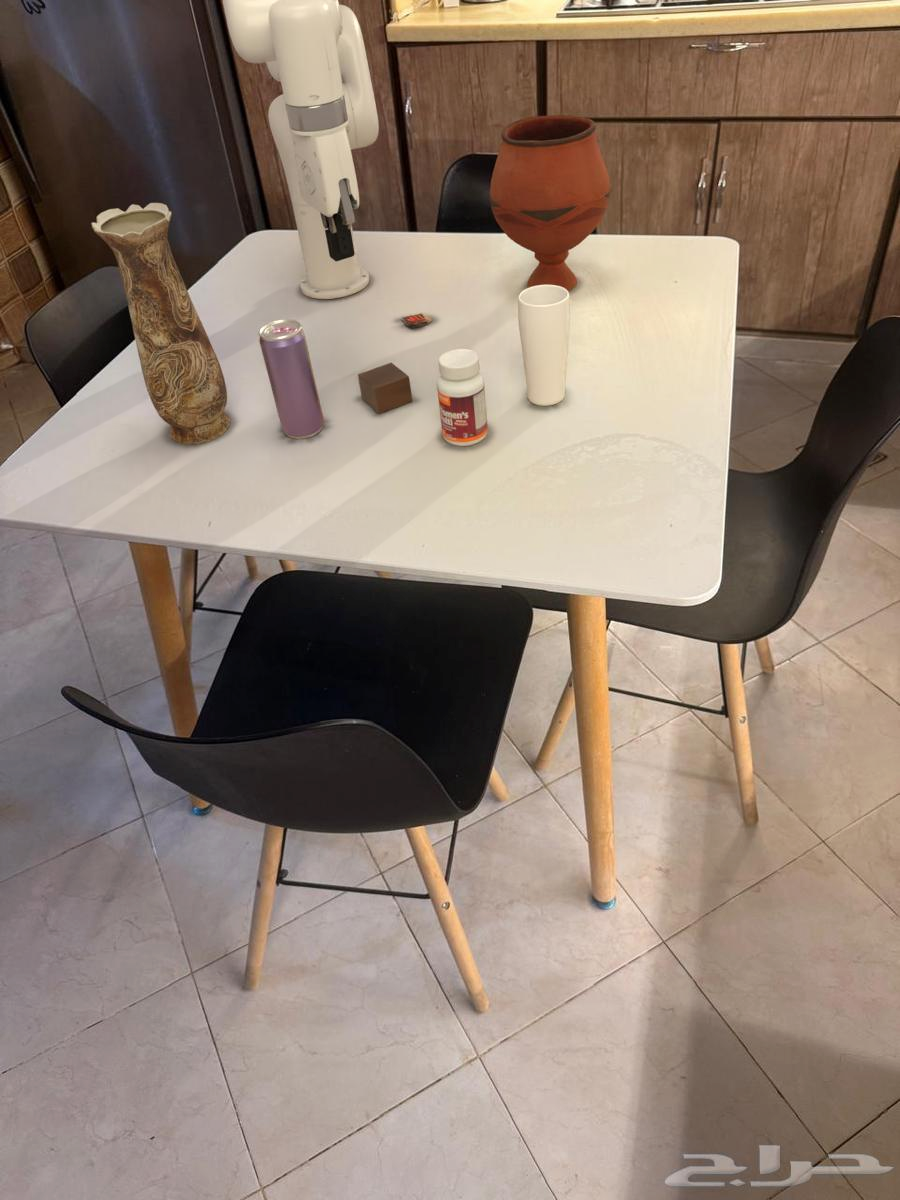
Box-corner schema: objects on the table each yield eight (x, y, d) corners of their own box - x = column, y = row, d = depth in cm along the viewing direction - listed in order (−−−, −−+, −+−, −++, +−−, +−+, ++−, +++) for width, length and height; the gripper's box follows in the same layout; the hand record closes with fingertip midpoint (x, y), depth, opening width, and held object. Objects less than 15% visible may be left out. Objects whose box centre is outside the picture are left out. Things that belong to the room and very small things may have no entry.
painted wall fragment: (412, 330, 142) (412, 327, 142) (396, 320, 145) (396, 317, 145) (436, 321, 144) (436, 318, 143) (420, 312, 147) (420, 309, 147)
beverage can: (317, 441, 120) (294, 339, 110) (277, 440, 121) (250, 339, 111) (330, 418, 124) (308, 318, 114) (291, 417, 125) (266, 318, 115)
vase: (229, 403, 130) (166, 193, 110) (243, 436, 123) (178, 218, 103) (160, 421, 128) (83, 211, 108) (170, 456, 121) (89, 238, 100)
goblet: (495, 267, 158) (486, 115, 142) (602, 258, 157) (605, 103, 140) (495, 312, 144) (485, 150, 128) (612, 303, 143) (617, 137, 126)
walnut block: (362, 399, 127) (357, 374, 125) (394, 386, 129) (391, 362, 126) (378, 414, 124) (374, 389, 121) (412, 401, 125) (409, 376, 123)
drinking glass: (574, 387, 124) (574, 284, 114) (565, 411, 119) (565, 306, 109) (527, 384, 126) (523, 283, 116) (517, 409, 121) (512, 305, 111)
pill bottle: (435, 443, 116) (425, 366, 109) (454, 420, 120) (446, 344, 113) (477, 450, 114) (470, 372, 107) (495, 426, 118) (489, 349, 111)
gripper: (268, 109, 114) (297, 248, 127) (314, 134, 105) (341, 282, 117) (320, 96, 117) (343, 234, 129) (369, 119, 107) (390, 266, 120)
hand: (342, 256), depth 123 cm, fingers closed
